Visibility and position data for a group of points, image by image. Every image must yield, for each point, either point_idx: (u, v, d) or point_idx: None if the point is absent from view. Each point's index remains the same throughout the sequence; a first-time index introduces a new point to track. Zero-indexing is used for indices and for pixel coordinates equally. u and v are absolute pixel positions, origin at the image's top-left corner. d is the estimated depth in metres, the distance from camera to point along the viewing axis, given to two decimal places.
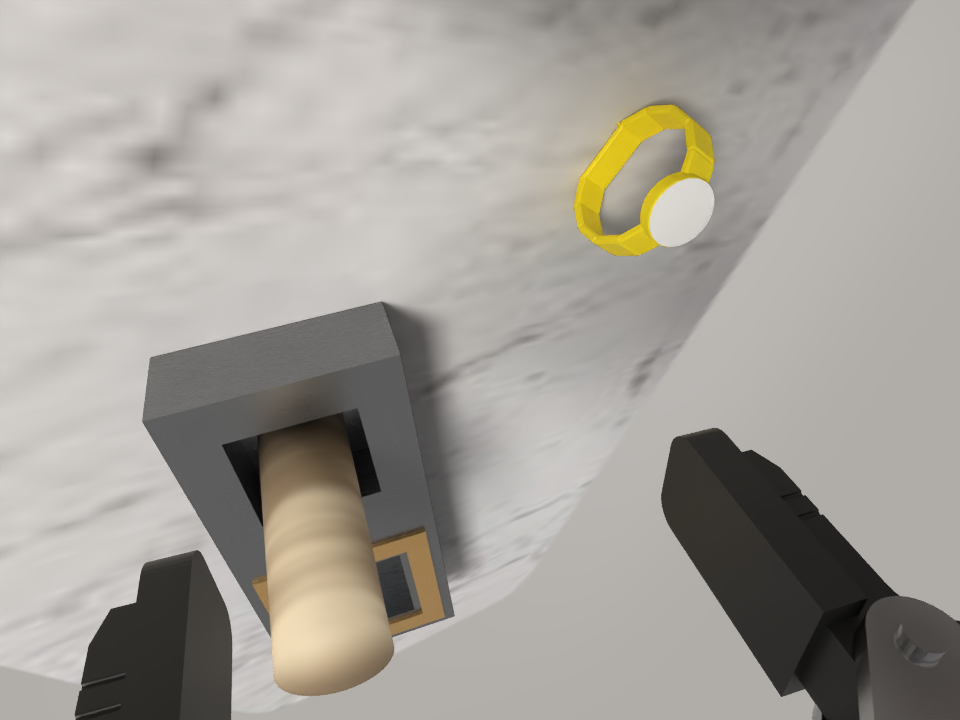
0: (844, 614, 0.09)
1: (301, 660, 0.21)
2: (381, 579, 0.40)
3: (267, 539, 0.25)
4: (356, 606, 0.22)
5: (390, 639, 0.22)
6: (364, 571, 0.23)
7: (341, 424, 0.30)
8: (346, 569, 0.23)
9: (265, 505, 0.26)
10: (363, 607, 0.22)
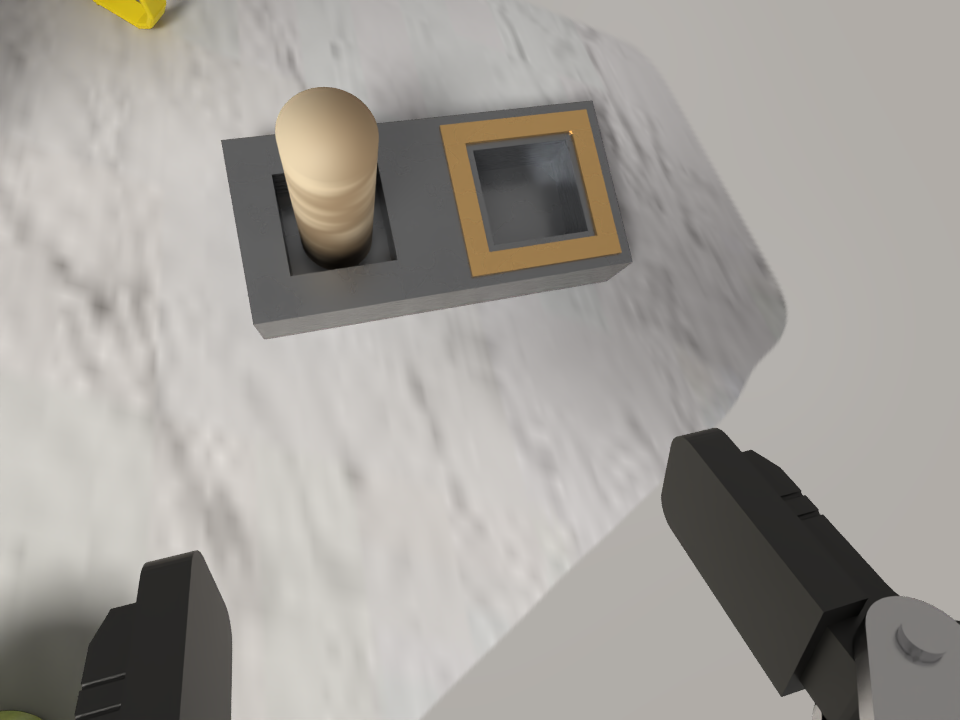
0: (844, 614, 0.09)
1: (309, 158, 0.26)
2: (558, 182, 0.40)
3: (315, 223, 0.30)
4: None
5: (311, 89, 0.26)
6: None
7: None
8: None
9: (316, 235, 0.32)
10: None
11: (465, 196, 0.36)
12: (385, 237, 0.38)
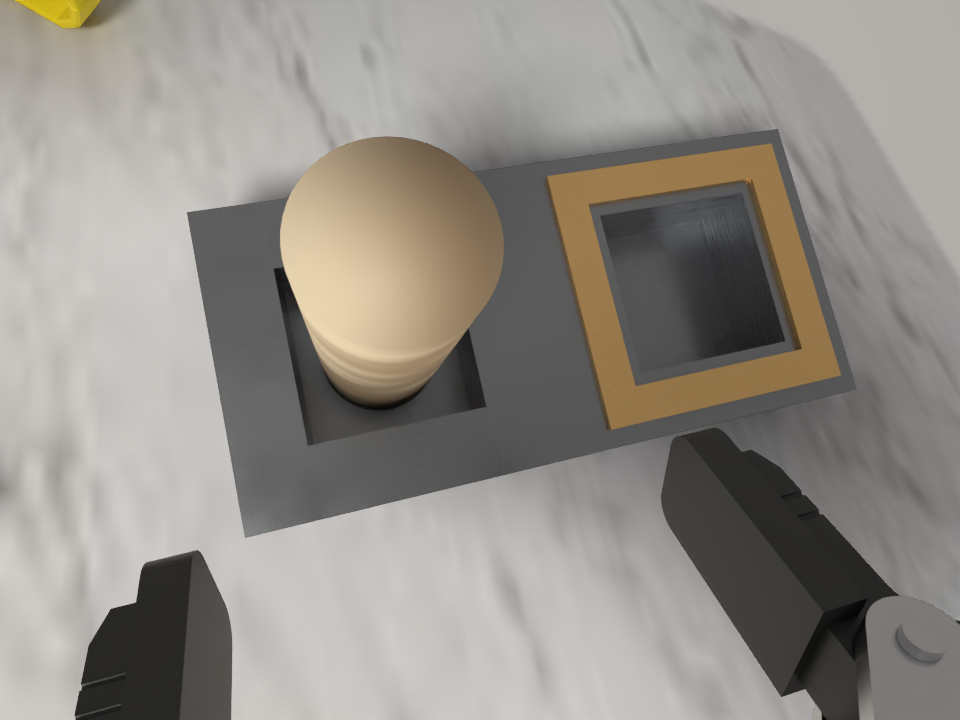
0: (844, 614, 0.09)
1: (357, 297, 0.11)
2: (715, 254, 0.26)
3: (356, 380, 0.16)
4: None
5: (356, 142, 0.12)
6: None
7: None
8: None
9: (355, 387, 0.18)
10: None
11: (593, 293, 0.22)
12: (455, 352, 0.24)
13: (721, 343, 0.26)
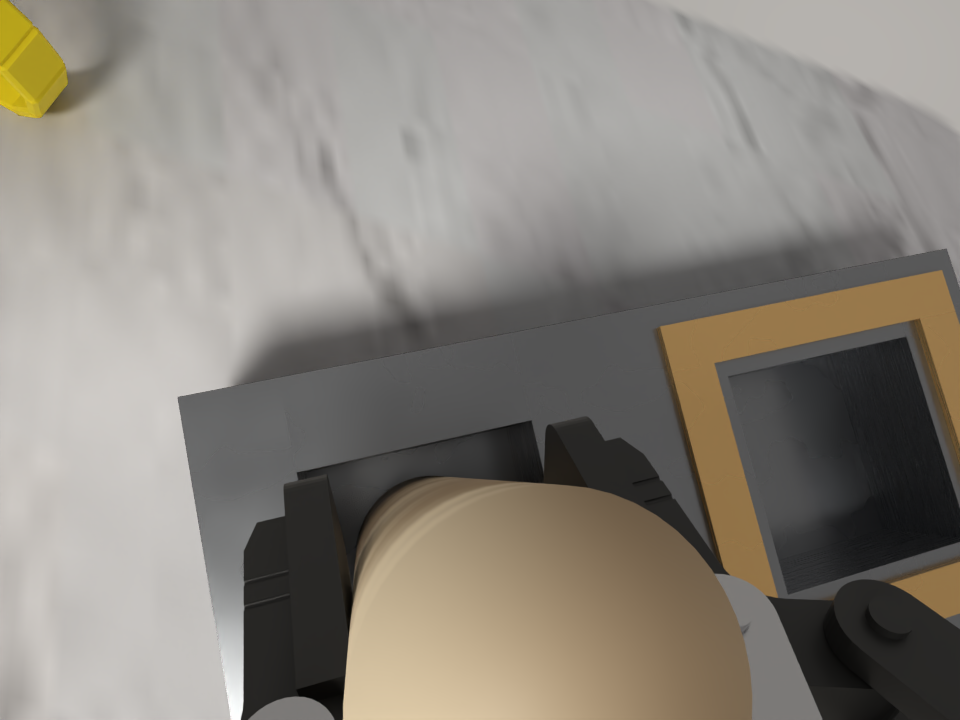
0: None
1: None
2: (853, 399, 0.20)
3: None
4: (364, 602, 0.07)
5: (481, 502, 0.06)
6: (390, 536, 0.08)
7: (393, 489, 0.16)
8: (359, 589, 0.08)
9: None
10: (377, 578, 0.07)
11: (724, 488, 0.16)
12: None
13: (861, 513, 0.20)
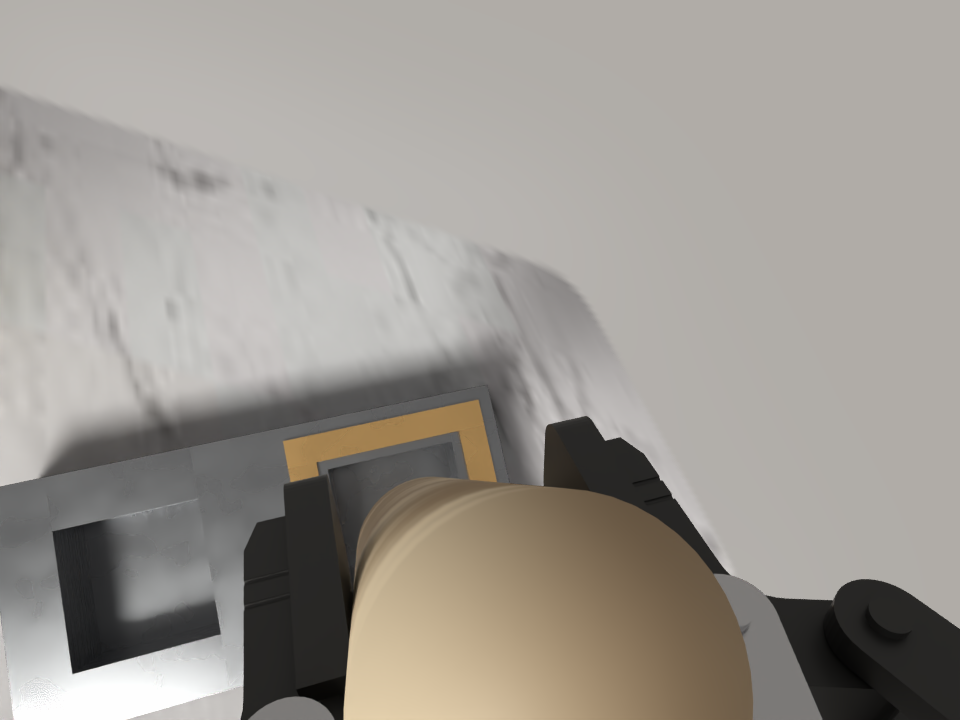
0: None
1: None
2: (451, 473, 0.32)
3: None
4: (365, 605, 0.07)
5: (482, 505, 0.06)
6: (391, 538, 0.08)
7: (394, 490, 0.16)
8: (360, 591, 0.08)
9: None
10: (377, 581, 0.07)
11: None
12: None
13: None
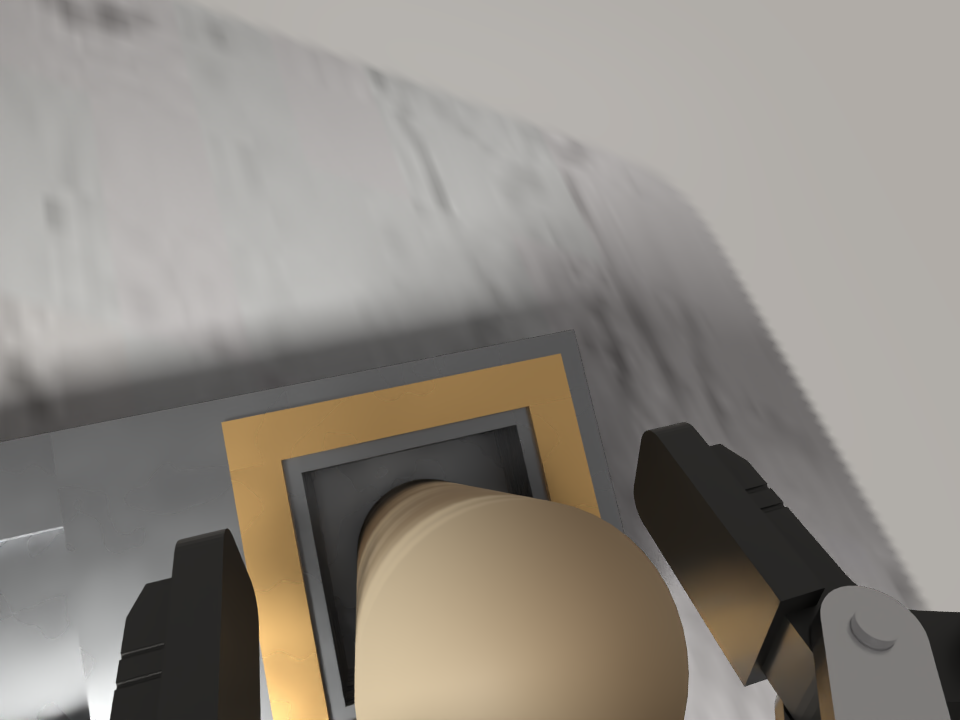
0: (802, 603, 0.09)
1: None
2: (507, 479, 0.20)
3: None
4: (371, 595, 0.08)
5: (467, 514, 0.08)
6: (391, 539, 0.10)
7: (392, 492, 0.18)
8: (365, 584, 0.10)
9: None
10: (381, 576, 0.08)
11: (276, 595, 0.15)
12: None
13: None
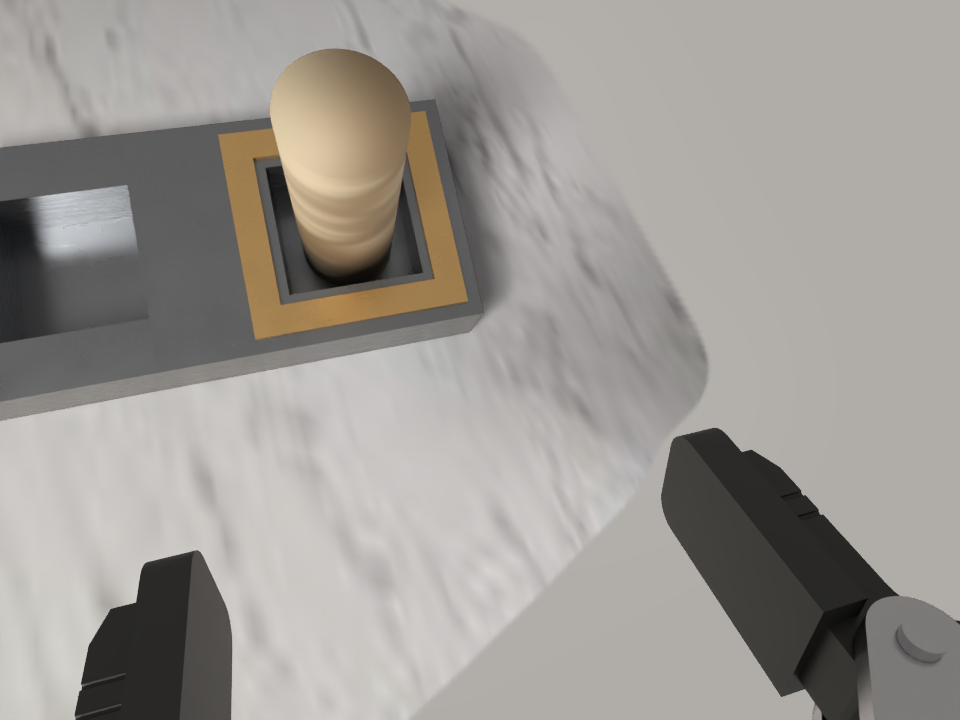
0: (844, 614, 0.09)
1: (317, 145, 0.19)
2: (400, 207, 0.31)
3: (324, 233, 0.23)
4: None
5: (318, 51, 0.19)
6: None
7: None
8: None
9: (324, 247, 0.25)
10: None
11: (249, 230, 0.27)
12: None
13: None
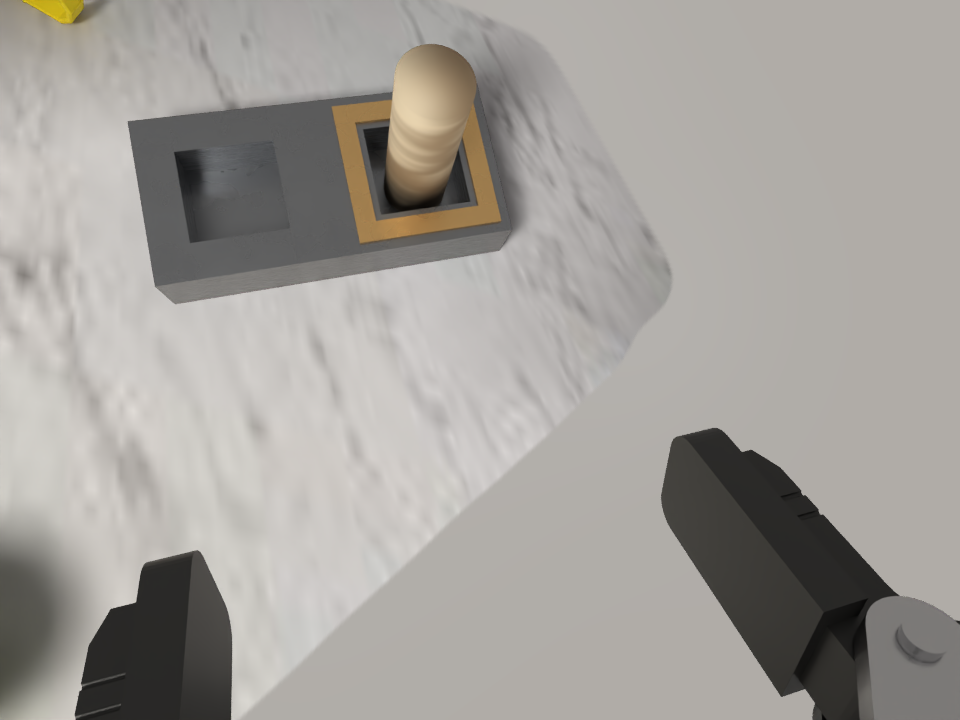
0: (844, 614, 0.09)
1: (422, 101, 0.31)
2: None
3: (413, 165, 0.36)
4: None
5: (420, 46, 0.32)
6: None
7: None
8: None
9: (409, 177, 0.38)
10: None
11: (354, 170, 0.39)
12: (287, 210, 0.41)
13: None
